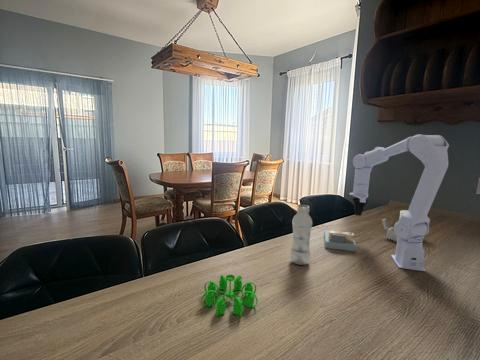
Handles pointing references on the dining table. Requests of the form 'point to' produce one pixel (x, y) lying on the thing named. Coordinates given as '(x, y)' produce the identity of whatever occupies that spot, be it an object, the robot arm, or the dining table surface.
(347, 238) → the folding leg
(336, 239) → the blue-grey block
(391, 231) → the lighter
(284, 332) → the dining table surface
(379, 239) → the dining table surface
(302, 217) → the plastic bottle
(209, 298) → the chandelier
